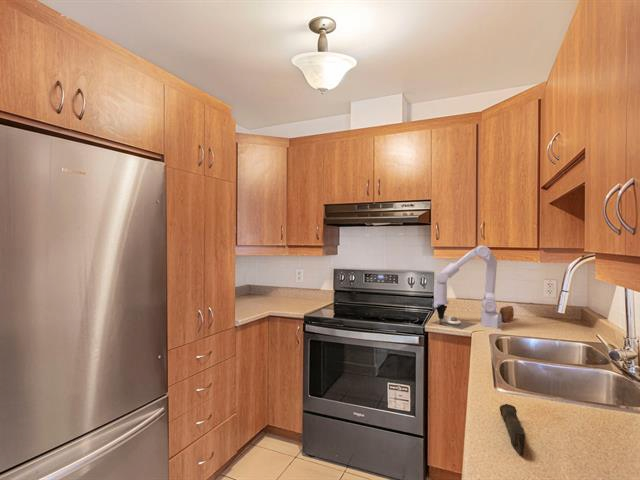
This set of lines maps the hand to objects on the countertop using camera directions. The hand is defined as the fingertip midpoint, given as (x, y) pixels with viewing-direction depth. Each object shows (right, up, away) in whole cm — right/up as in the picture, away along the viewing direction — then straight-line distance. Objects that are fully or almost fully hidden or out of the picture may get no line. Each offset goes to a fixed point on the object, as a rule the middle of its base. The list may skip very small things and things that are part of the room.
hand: (440, 318), depth 205 cm
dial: (+5, -2, -2) cm, 5 cm away
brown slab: (+42, -4, +11) cm, 43 cm away
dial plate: (+6, -3, -3) cm, 7 cm away
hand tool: (-19, -4, -115) cm, 117 cm away
